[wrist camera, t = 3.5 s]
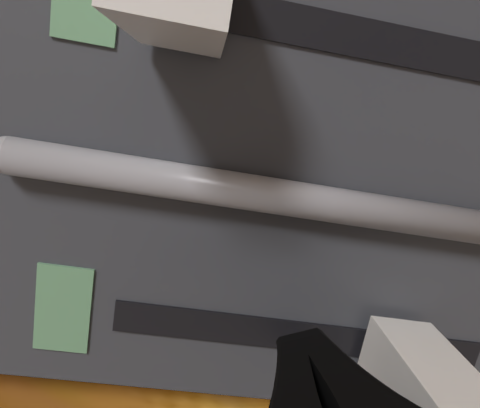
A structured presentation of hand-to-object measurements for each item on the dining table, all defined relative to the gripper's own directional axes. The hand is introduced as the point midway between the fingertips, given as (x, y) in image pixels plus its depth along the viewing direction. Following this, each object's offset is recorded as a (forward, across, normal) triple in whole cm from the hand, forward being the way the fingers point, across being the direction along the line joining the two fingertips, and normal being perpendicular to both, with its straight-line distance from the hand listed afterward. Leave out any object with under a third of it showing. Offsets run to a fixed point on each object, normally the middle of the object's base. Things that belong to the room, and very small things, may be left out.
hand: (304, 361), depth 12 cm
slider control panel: (+3, 0, -5) cm, 6 cm away
